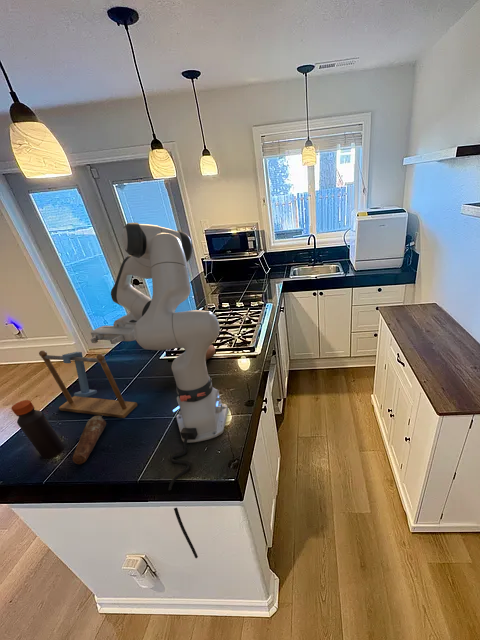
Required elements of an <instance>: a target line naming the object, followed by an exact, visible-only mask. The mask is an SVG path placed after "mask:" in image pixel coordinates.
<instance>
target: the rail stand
mask: <svg viewBox="0 0 480 640" xmlns="http://www.w3.org/2000/svg"><path fill="white" fill-rule="evenodd" d="M38 355H39V357H40V358H41V359H42V360H43V362H44V363H45V365H46V367H47V369H48V370H49V372H50V374H51V375H52V377H53V379H54V380H55V382H56V384H57V385H58V387H59V389H60V391H61V392H62V394H63V396H64V398H65V399H66V401H65V402H64V403H63V404H62V405H60V406H59V407H58V409H59V411H62V412H63V411H64V412H70V413H78V414H80V413H81V414H87V415H94V416H102V417H103V416H105V417H113V418H120V419H125V418H126V417H127V416H128V415H129V414H131V412H132V411H133V410H134V409H136V408H137V407H138V403H137V402H135V401H127V400H125V399H124V397H123V396H122V393H121V391H120V389H119V387H118V385H117V382H116V380H115V378H114V376H113V374H112V371H111V370H110V368H109V365H108V363H107V360H106V357H105V355H104V354H102V353H99V354H97V355H96V357H85V356H84V357H72V358H70V360H71V362H72V361H73V362H75V361H84V363H85V362H87V363H99V364H100V366H101V368H102V370H103V372H104V374H105V377H106V379H107V380H108V382H109V385H110V387H111V390H112V391H113V393H114V395H115V398H116V399H106V398H99V397H90V396H88V397H77V396H74V395H73V396H72V395H71V394H70V392H69V390H68V389H67V387H66V385H65V383H64V381H63V380H62V378H61V376H60V375H59V373H58V371H57V369H56V368H55V366H54V364H53V363H52V361H51V360H56V361H57V360H58V361H63V356H62V355H53V354H51V355H50V354H48V352H47V351H46V350H40V351H39V352H38Z"/></svg>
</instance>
